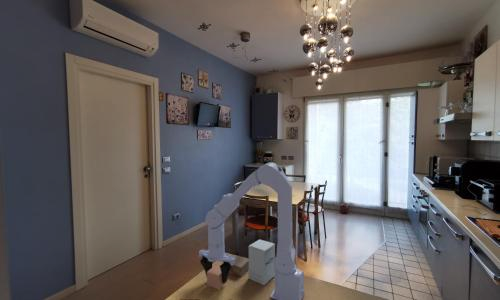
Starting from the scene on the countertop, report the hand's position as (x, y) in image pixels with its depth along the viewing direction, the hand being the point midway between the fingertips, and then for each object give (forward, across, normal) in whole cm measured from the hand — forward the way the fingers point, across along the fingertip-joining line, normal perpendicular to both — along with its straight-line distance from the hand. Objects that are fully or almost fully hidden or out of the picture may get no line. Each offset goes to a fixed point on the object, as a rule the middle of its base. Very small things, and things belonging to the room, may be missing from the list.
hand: (216, 279), depth 84 cm
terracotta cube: (+2, 0, 0) cm, 2 cm away
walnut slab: (+2, +2, +11) cm, 11 cm away
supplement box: (+2, +13, +10) cm, 17 cm away
